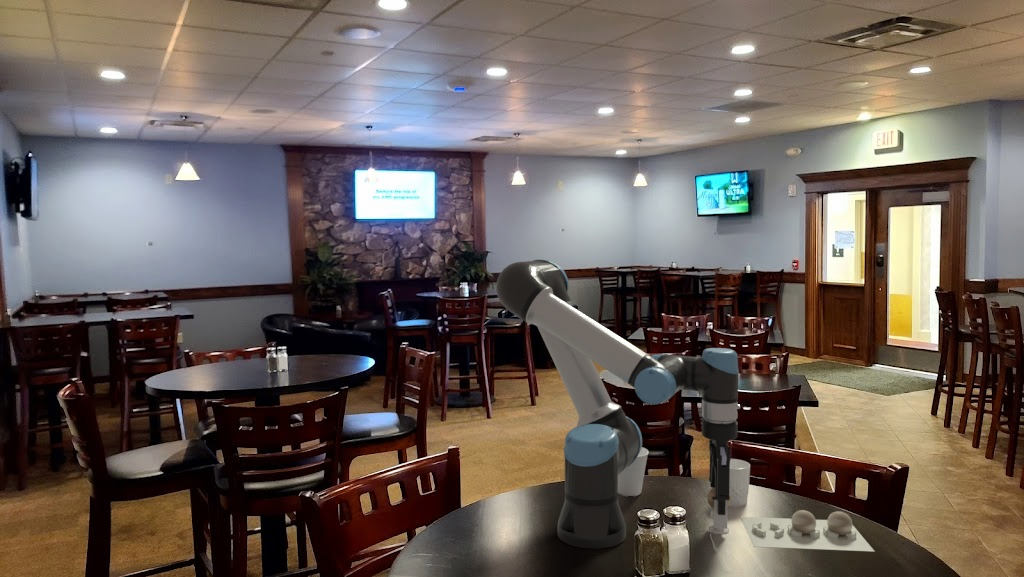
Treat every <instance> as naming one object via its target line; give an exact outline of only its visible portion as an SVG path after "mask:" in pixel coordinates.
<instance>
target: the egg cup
mask: <svg viewBox="0 0 1024 577" xmlns="http://www.w3.org/2000/svg"><path fill="white" fill-rule="evenodd" d="M709 506H710V505H709ZM709 509H710V510H711V511H712V516H713V518H712V521H713V522H712V524H713V525H709V526H708V533H709V534H710V535H712V534H715V535H725V534H729V532H730V528H728V527H727V529H726V528H714V509H713V508H712V507H711V506H710V508H709ZM728 515H729V511H728V510H727V516H728Z"/></svg>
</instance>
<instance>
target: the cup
mask: <svg viewBox="0 0 1024 577" xmlns="http://www.w3.org/2000/svg"><path fill="white" fill-rule="evenodd" d="M648 455H649V450H648V449H647V448H645V447H643V446H642V447H641V451H640V453H639V455H638V456H637V458H636V460H635V461H634V462H633V463H632V464H631V465H630V466H628V467H626V468H625V469H624V470H623V471H622V472H621V473H620V474H619V475H618V495H620V494H621V495H620V496H623V497H628V496H633V497H637V496H639V495H640V494H642V489H643V483H644V478H645V471H646V465H647V460H648Z"/></svg>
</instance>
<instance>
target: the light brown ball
mask: <svg viewBox="0 0 1024 577" xmlns="http://www.w3.org/2000/svg"><path fill="white" fill-rule="evenodd" d="M712 496H713V497H715V487H714V488H710V490H709V491H708V492H707V496H706V500H707V503H708V505H709V506H711V507H712V508H713V509H714V500H712ZM729 496H730V494H729ZM730 501H731V498H730V499H729V500H728V504H727V508H728V507H729V504H730Z"/></svg>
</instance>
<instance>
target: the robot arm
mask: <svg viewBox="0 0 1024 577" xmlns="http://www.w3.org/2000/svg"><path fill="white" fill-rule="evenodd" d="M569 284H570V283H569V280H568V276H567V273H566V272H565V270H564V269H563V268H562V267H561V266H560V265H558V263H555V262H553V261H551V260H550V261H549V260H546V259H534V260H529V261H518V262H513V263H511V264H509V265H507V266H505V268H503V269H502V270H501V272H500V273H499V275H498V276H497V280H496V285H495V286H496V287H495V288H496V289H495V291H496V295H497V298H498V300H499V302H500V303H501V304H502V305H503V307H505V309H506V310H507V311H509V312H510V313H512V314H513V315H514V316H516V317H517V318H519V319H520V320H522V321H523V322H525V323H526V324H528V325H534V326H536V327H537V329H538V332H539V333H540V335H541V337H542V340H543V342H544V344H545V347H546V348H547V350H548V352H549V355H550V357H551V358H552V360H553V363H554V366H555V367H556V369H557V371H558V373H559V374H558V375H559V377H560V378H561V381H562V383H563V385H564V387H565V389H566V392H567V394H568V396H569V398H570V399H571V402H572V404H573V406H574V409H575V411H576V413H577V415H578V420H577V422H576V426H575V427H573V428H571V429H570V430H569V431H568V432H567V434H566V435H565V439H564V444H563V455H564V457H563V458H564V503H563V505H562V508H561V511H560V514H559V518H558V521H557V530H556V531H557V537H558V539H560V540H561V541H562V542H564V543H565V544H568V545H570V546H573V547H576V548H579V549H580V548H581V549H588V550H589V549H592V550H595V549H596V550H597V549H600V550H601V549H606V548H612V547H615V546H618V545H619V544H622V543H623V542H624V541H625V540H626V539H627V525H626V520H625V518H624V516H623V515H624V514H623V512H622V509H621V507H620V504H619V493H618V475H619V474H620V473H621V472H622V471H623V470H624V469H625V468H626V467H628V466H630V465H631V464H632V463H633V462H634V461H635V460H636V458H637V456H638V455H639V453H640V451H641V447H643V436H642V431H641V430H640V427H639V426H638V424H637V423H636V422H635V421H634V420H633V419H632V418H630V417H628V416H626V413H625V411H624V409H623V408H622V406H621V405H619V404H617V403H615V402H614V401H613V400H612V399H611V397H610V395H609V393H608V391H607V388H606V387H605V384H604V382H603V380H602V377H601V376H600V374H599V372H598V369H597V368H596V365H595V363H596V364H597V365H599V366H600V367H601V368H603V369H605V370H607V371H608V372H610V373H611V374H612V375H614V376H616V377H617V378H618V379H620V380H622V381H623V382H625V383H626V384H627V385H629V386H631V387H633V388H634V391H635V393H636V396H637V397H638V398H639V399H640V400H641V401H642V402H644V403H646V404H649V405H660V404H662V403H664V402H667V401H668V400H671V398H672V397H673V396H674V395H675V394H676V393H678V392H679V391H680V390H682V391H692V392H693V391H695V392H701V393H702V394H701V395H702V399H701V417H702V420H701V435H702V436H703V437H704V438H705V439H708V448H709V449H708V450H709V478H708V481H709V483H710V485H709V486H710V489H712V488H714V487H715V497H713V496H712V500H714V528H726V529H727V528H728V515H727V511H728V507H727V504H728V500H729V499H730V496H729V477H730V460H731V459H732V458H731V456H730V455H731V447H730V446H729V445H728V441H734V440H736V439H737V437H738V432H739V431H738V423H739V422H738V421H737V420H738V410H741V405H740V404H738V403H739V402H738V401H739V398H738V397H739V373H740V370H739V356H738V353H737V352H736V351H735V350H733V349H731V348H724V347H723V348H722V347H710V348H709V347H708V348H705V349H704V350H703V351H702V355H701V356H690V355H689V356H686V355H676V354H675V355H674V354H668V353H663V354H652V355H649V354H648V353H646V352H644V351H643V350H642V349H640V348H639V347H637V346H635V345H633V344H632V343H631V342H630V341H627V340H626V339H624V338H623V337H621V336H619V335H618V334H616V333H615V332H613V331H612V330H610V329H608V328H607V327H605V326H604V325H602V324H601V323H599V322H598V321H596V320H594V319H593V318H591V317H589V316H588V315H587V314H585V313H583V312H582V311H580V310H578V309H577V308H575V307H573V306H572V300H571V298H570V295H569V293H568V291H569V287H570V286H569ZM709 512H710V516H709V517H710V518H711V519H713V516H712V511H711V510H710V511H709Z"/></svg>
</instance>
